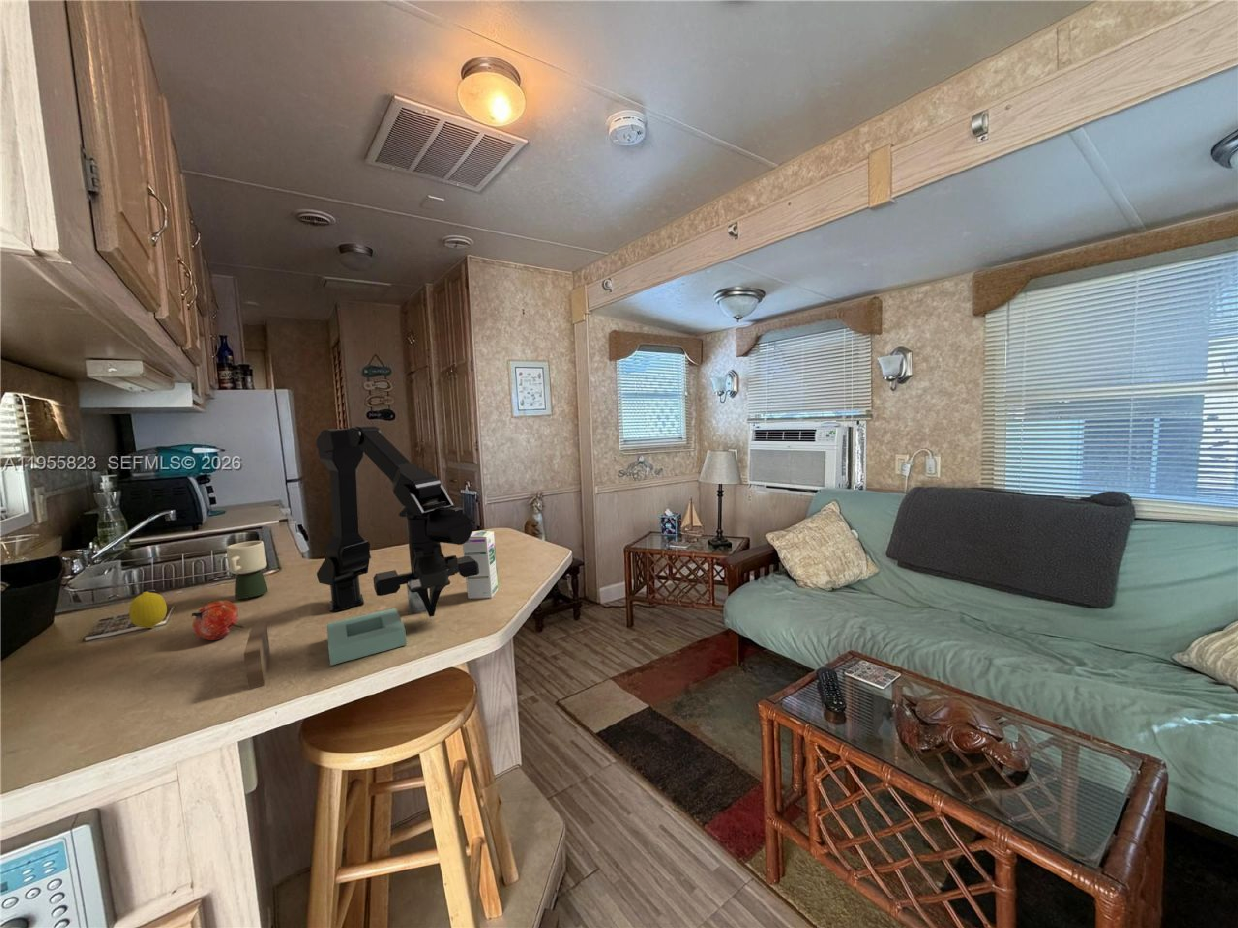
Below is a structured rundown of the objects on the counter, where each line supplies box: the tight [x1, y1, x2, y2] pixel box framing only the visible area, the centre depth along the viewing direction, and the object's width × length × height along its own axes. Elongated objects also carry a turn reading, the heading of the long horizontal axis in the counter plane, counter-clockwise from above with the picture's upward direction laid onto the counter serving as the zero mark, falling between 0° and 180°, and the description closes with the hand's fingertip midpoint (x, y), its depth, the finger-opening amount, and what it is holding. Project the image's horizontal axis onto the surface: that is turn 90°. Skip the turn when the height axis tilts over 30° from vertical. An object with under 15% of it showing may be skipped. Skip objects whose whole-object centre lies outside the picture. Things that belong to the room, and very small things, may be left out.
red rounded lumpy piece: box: [191, 599, 243, 641], centre depth 93 cm, size 7×7×10 cm
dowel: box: [406, 585, 427, 615], centre depth 102 cm, size 4×4×8 cm
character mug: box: [226, 540, 269, 600], centre depth 114 cm, size 11×7×13 cm, turn 9°
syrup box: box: [462, 530, 500, 600], centre depth 109 cm, size 6×6×14 cm
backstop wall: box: [243, 622, 271, 691], centre depth 79 cm, size 12×2×6 cm, turn 33°
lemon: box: [128, 591, 168, 629], centre depth 98 cm, size 6×6×8 cm
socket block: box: [326, 607, 408, 667], centre depth 88 cm, size 12×12×3 cm
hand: (431, 615), depth 94 cm, fingers closed
